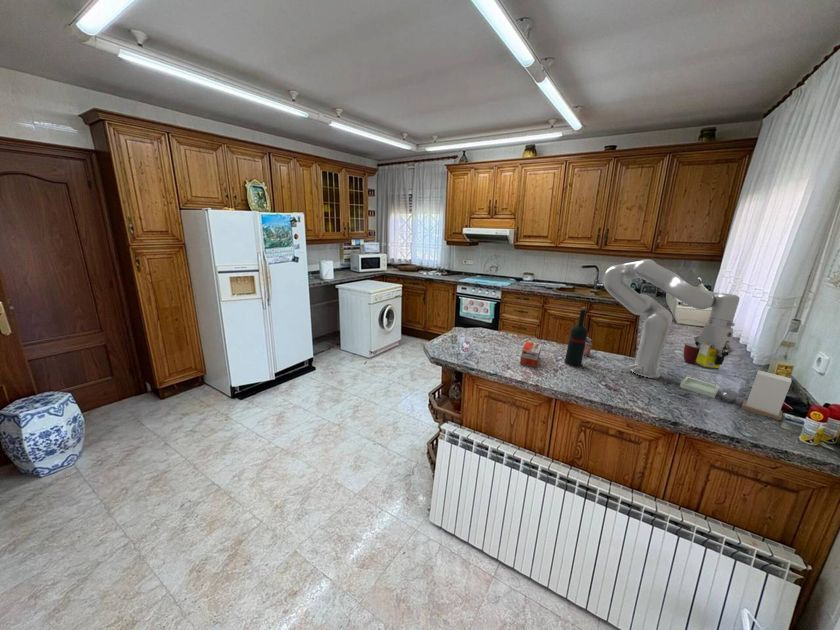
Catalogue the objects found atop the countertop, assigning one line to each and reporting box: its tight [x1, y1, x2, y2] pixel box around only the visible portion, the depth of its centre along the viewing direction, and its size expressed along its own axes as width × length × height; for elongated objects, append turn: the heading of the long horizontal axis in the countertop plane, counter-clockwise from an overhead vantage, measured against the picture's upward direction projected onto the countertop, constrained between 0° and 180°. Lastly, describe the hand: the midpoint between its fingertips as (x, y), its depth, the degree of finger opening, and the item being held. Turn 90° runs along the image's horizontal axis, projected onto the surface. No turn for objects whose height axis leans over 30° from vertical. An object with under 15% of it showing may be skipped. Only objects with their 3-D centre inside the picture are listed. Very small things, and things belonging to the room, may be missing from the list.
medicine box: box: [519, 341, 542, 368], centre depth 166 cm, size 15×8×8 cm, turn 155°
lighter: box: [583, 337, 593, 357], centre depth 179 cm, size 8×3×10 cm, turn 5°
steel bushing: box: [719, 389, 739, 405], centre depth 136 cm, size 5×5×4 cm
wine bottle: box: [564, 306, 588, 368], centre depth 164 cm, size 8×10×30 cm
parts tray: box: [679, 376, 720, 399], centre depth 146 cm, size 12×12×2 cm
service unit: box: [740, 369, 792, 421], centre depth 127 cm, size 8×11×16 cm
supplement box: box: [695, 343, 726, 371], centre depth 142 cm, size 6×6×11 cm
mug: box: [683, 342, 698, 365], centre depth 175 cm, size 10×8×10 cm
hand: (708, 360), depth 142 cm, fingers closed on supplement box, 7 cm apart
